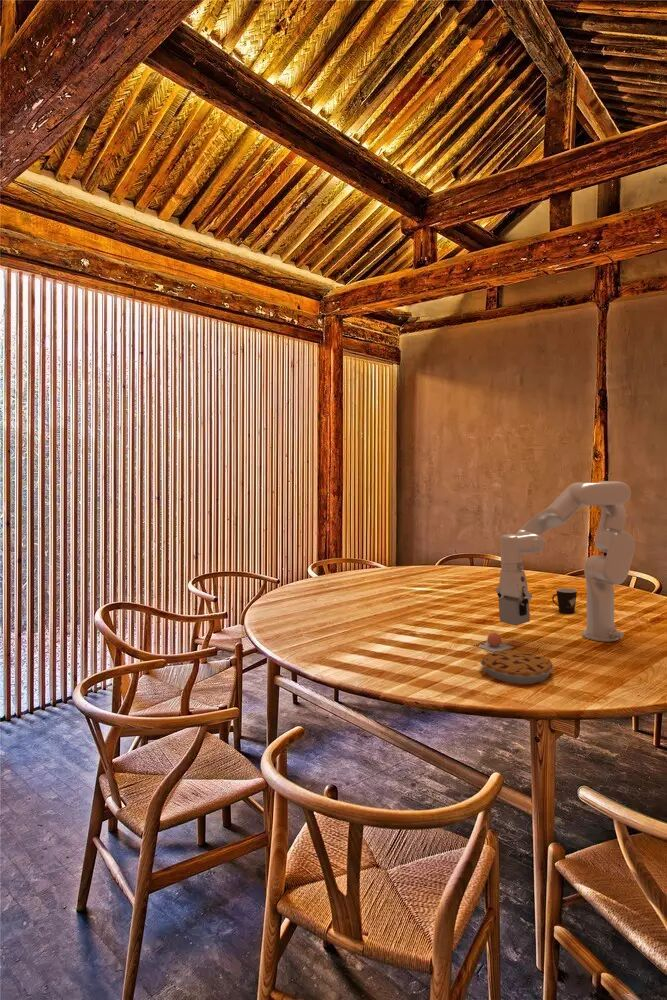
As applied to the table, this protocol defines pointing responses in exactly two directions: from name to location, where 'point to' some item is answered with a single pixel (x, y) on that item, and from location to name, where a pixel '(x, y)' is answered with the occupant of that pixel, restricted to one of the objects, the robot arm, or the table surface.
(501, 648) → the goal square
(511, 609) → the grey block
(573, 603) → the coffee mug
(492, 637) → the ball
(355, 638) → the table surface
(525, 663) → the pie
